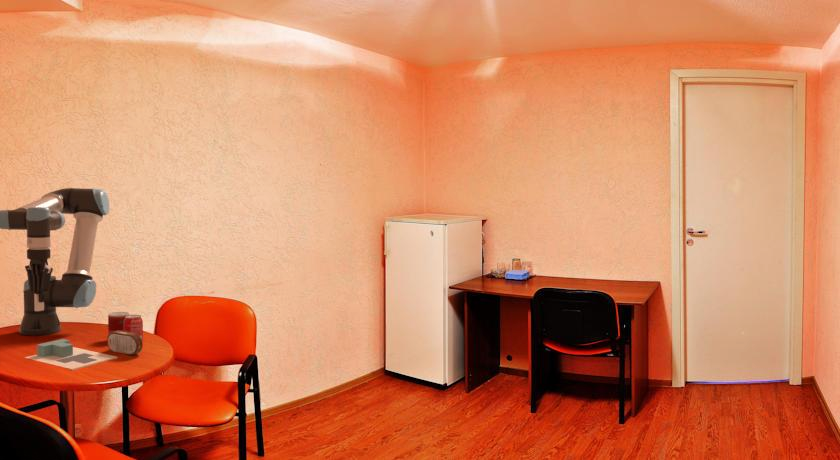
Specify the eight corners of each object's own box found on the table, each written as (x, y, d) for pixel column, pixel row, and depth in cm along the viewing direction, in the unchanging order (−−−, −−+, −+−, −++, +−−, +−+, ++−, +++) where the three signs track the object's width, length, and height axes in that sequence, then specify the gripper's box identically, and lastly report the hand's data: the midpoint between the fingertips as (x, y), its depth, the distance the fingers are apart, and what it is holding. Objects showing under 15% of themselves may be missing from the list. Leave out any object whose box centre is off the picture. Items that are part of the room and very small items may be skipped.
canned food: (121, 343, 252) (121, 316, 251) (103, 341, 253) (103, 314, 253) (133, 338, 259) (133, 312, 258) (116, 337, 261) (116, 311, 260)
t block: (62, 349, 239) (62, 338, 238) (80, 353, 234) (80, 342, 234) (37, 355, 230) (36, 344, 229) (54, 359, 225) (54, 348, 225)
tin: (143, 355, 237) (143, 333, 236) (136, 357, 234) (136, 335, 233) (112, 350, 242) (112, 328, 241) (105, 352, 239) (105, 330, 238)
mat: (70, 347, 243) (70, 346, 243) (117, 358, 232) (117, 356, 232) (24, 358, 227) (24, 357, 227) (71, 370, 215) (71, 369, 215)
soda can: (127, 343, 252) (127, 314, 251) (145, 343, 252) (145, 314, 251) (120, 348, 245) (120, 318, 244) (139, 348, 245) (139, 318, 244)
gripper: (17, 247, 233) (18, 310, 235) (40, 250, 228) (40, 314, 229) (37, 246, 240) (38, 306, 242) (59, 248, 234) (60, 310, 236)
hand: (39, 310), depth 235 cm, fingers closed
